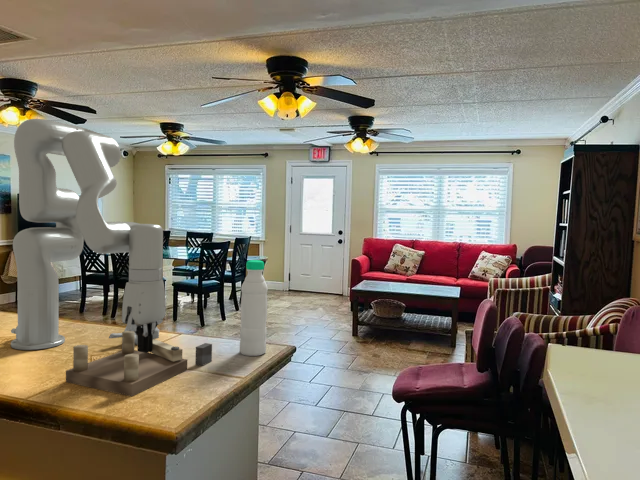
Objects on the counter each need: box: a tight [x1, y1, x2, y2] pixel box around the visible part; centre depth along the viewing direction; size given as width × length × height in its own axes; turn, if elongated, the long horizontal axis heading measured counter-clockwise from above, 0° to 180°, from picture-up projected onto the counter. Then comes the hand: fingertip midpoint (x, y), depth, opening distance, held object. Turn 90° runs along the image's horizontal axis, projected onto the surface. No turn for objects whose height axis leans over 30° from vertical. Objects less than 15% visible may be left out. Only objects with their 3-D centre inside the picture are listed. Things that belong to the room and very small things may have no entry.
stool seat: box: [65, 330, 213, 397], centre depth 110 cm, size 19×26×8 cm
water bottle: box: [239, 259, 268, 357], centre depth 126 cm, size 7×7×25 cm
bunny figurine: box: [108, 325, 160, 346], centre depth 133 cm, size 10×5×15 cm
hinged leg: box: [150, 339, 183, 362], centre depth 114 cm, size 12×2×3 cm, turn 50°
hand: (145, 351), depth 113 cm, fingers closed
